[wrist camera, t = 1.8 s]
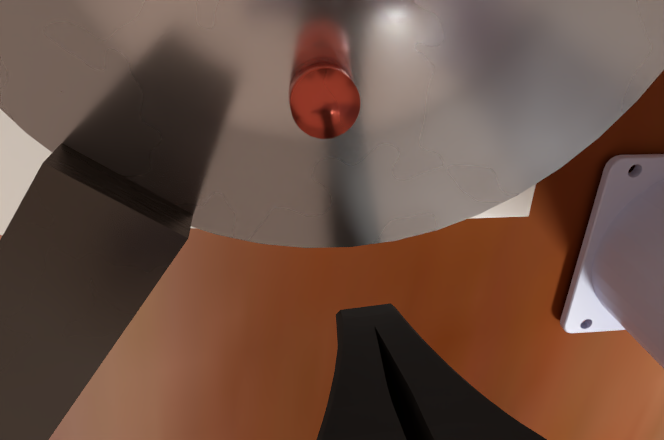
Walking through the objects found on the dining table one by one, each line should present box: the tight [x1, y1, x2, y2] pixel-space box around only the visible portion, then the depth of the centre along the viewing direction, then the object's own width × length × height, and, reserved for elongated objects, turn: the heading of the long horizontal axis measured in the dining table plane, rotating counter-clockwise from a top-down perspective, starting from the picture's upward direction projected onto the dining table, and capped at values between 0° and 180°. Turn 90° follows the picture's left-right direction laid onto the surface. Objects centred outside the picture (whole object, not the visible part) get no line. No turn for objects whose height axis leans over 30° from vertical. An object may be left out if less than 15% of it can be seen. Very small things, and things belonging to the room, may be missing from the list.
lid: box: [0, 0, 664, 440], centre depth 9 cm, size 22×14×2 cm, turn 143°
